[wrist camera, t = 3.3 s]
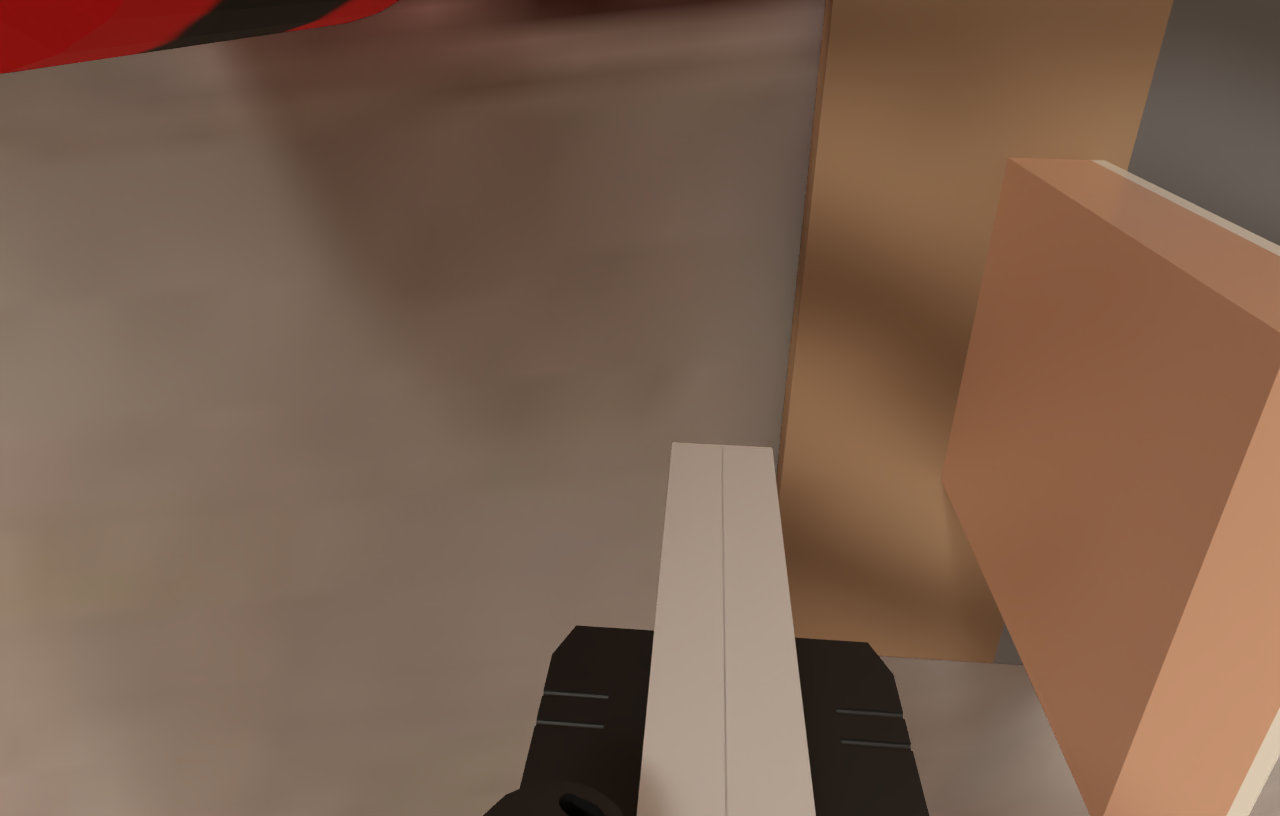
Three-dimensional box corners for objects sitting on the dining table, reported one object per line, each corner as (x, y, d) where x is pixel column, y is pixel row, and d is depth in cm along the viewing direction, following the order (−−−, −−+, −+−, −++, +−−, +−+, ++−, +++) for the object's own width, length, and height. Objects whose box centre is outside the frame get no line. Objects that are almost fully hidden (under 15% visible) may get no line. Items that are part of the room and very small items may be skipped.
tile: (1007, 157, 18) (1290, 339, 9) (1105, 160, 18) (1487, 347, 9) (941, 479, 22) (1097, 830, 13) (1021, 483, 22) (1235, 841, 13)
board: (844, -176, 17) (852, -186, 16) (1846, -170, 16) (1928, -180, 14) (761, 619, 26) (763, 648, 25) (1387, 659, 25) (1417, 691, 24)
